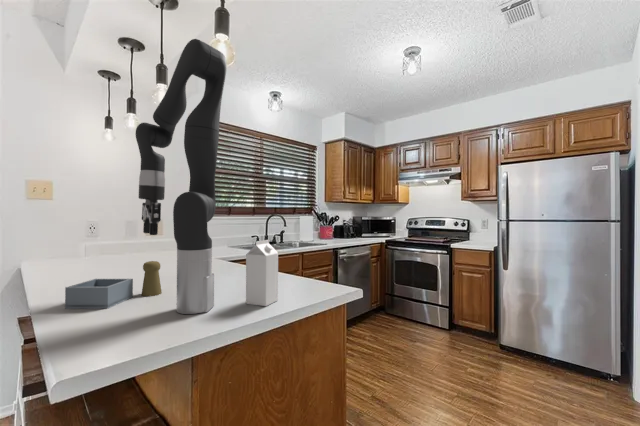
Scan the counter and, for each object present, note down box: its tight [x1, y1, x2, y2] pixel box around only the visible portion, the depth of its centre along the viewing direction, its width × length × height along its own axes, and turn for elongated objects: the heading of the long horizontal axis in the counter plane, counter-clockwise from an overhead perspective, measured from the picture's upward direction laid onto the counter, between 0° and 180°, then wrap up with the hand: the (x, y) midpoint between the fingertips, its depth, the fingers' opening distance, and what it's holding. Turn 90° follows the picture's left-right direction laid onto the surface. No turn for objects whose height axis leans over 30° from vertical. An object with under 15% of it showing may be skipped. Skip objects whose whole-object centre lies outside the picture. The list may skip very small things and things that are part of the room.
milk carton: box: [245, 239, 279, 307], centre depth 94 cm, size 7×7×19 cm
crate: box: [64, 278, 134, 310], centre depth 94 cm, size 12×12×6 cm
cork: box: [140, 260, 162, 297], centre depth 104 cm, size 6×6×11 cm
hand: (150, 234), depth 102 cm, fingers open, 8 cm apart
